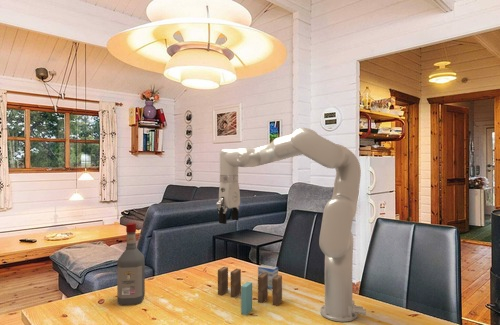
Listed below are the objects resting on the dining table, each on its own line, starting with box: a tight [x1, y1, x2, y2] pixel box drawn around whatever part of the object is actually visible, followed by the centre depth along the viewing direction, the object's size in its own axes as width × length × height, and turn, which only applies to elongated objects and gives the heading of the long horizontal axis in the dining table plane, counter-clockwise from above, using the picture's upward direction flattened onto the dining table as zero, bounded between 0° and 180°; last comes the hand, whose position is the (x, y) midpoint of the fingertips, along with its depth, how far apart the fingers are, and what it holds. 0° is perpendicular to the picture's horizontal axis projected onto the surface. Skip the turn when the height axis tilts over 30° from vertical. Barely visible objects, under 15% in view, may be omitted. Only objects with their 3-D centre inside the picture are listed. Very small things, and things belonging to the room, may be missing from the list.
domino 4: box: [257, 273, 269, 304], centre depth 134 cm, size 2×5×10 cm, turn 154°
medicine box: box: [257, 264, 279, 290], centre depth 148 cm, size 8×4×9 cm, turn 62°
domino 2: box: [230, 268, 242, 299], centre depth 139 cm, size 2×5×10 cm, turn 154°
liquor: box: [116, 222, 146, 307], centre depth 133 cm, size 9×9×30 cm
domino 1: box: [217, 266, 229, 296], centre depth 141 cm, size 2×5×10 cm, turn 154°
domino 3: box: [240, 281, 253, 316], centre depth 123 cm, size 2×5×10 cm, turn 154°
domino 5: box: [271, 274, 283, 307], centre depth 131 cm, size 2×5×10 cm, turn 154°
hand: (229, 221), depth 139 cm, fingers open, 9 cm apart
